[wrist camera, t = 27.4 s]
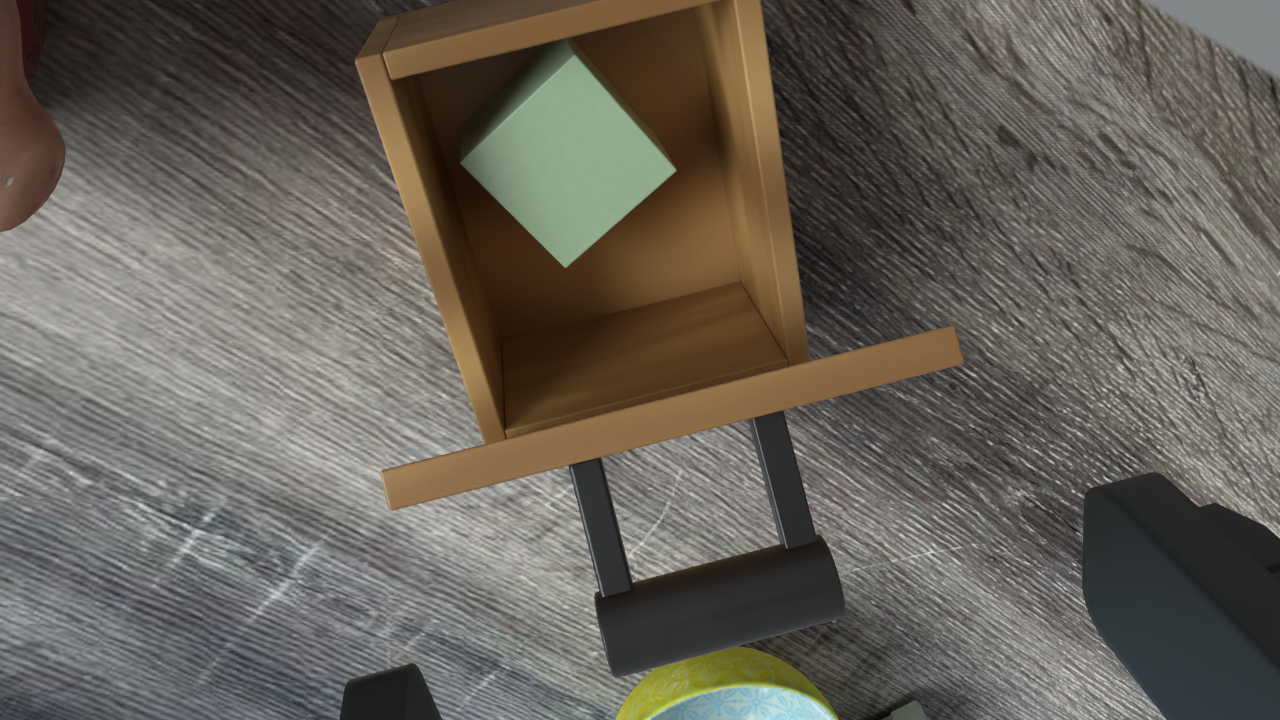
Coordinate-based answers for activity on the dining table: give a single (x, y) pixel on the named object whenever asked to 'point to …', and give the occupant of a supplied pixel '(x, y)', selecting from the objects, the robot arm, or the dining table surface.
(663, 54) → the chest
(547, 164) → the block
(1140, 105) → the dining table surface
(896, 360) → the lid
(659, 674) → the bowl
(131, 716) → the dining table surface
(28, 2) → the decorative planter
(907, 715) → the pipe fitting
